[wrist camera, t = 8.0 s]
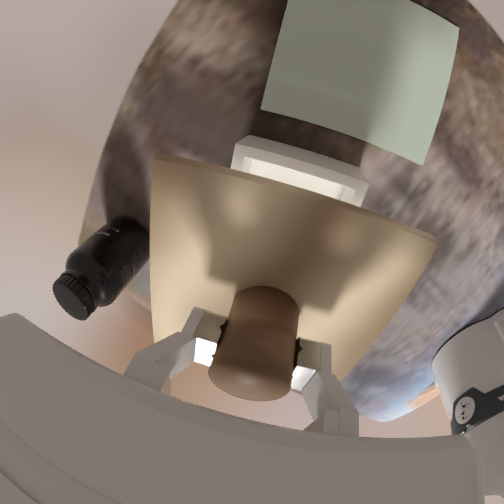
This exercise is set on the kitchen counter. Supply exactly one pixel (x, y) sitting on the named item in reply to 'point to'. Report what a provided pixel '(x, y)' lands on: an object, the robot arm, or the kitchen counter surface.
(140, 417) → the robot arm
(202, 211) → the oak lid
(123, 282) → the supplement bottle
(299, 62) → the sage mat
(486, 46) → the kitchen counter surface
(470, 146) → the kitchen counter surface
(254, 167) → the white open box
